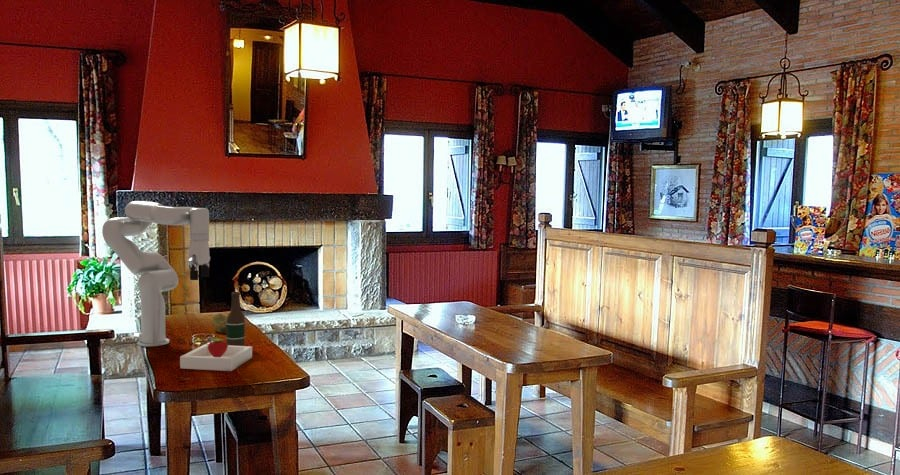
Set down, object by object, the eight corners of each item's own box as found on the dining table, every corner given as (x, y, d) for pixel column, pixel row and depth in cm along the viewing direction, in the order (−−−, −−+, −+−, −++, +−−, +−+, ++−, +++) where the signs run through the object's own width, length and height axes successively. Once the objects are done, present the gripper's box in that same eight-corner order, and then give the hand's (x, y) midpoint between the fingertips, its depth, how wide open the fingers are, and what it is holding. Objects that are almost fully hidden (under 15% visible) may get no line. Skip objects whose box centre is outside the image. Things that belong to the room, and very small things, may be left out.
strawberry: (229, 360, 255) (229, 335, 255) (209, 362, 251) (209, 337, 251) (226, 357, 260) (226, 332, 260) (206, 359, 256) (206, 334, 256)
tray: (180, 368, 246) (180, 356, 246) (204, 355, 266) (204, 344, 266) (231, 371, 245) (231, 359, 244) (252, 357, 264) (252, 346, 264)
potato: (214, 335, 301) (214, 318, 301) (211, 329, 313) (211, 312, 312) (233, 333, 305) (233, 317, 304) (229, 328, 317) (229, 311, 316)
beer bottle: (239, 350, 275) (239, 294, 273) (222, 349, 276) (222, 293, 275) (248, 346, 283) (248, 291, 281) (232, 344, 284) (232, 290, 282)
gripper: (200, 235, 280) (200, 275, 281) (180, 238, 263) (180, 280, 264) (217, 236, 279) (217, 276, 281) (198, 239, 262) (198, 281, 263)
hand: (199, 278), depth 272 cm, fingers open, 9 cm apart
